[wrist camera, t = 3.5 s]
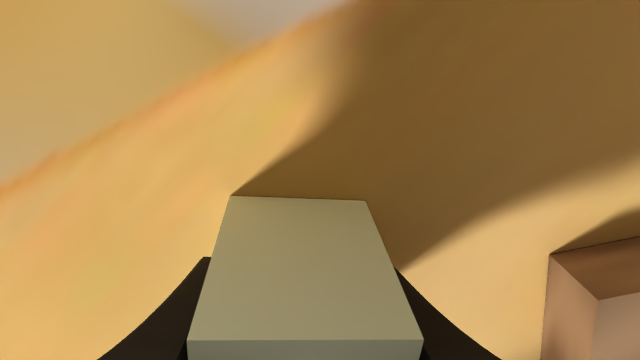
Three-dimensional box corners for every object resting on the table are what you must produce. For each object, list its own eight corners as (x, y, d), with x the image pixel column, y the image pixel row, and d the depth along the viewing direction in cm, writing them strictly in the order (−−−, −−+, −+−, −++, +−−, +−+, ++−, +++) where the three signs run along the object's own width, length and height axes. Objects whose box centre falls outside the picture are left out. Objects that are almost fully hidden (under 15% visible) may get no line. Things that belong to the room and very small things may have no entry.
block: (350, 304, 15) (388, 478, 9) (231, 304, 14) (197, 487, 9) (365, 200, 13) (423, 339, 7) (229, 195, 12) (186, 340, 7)
